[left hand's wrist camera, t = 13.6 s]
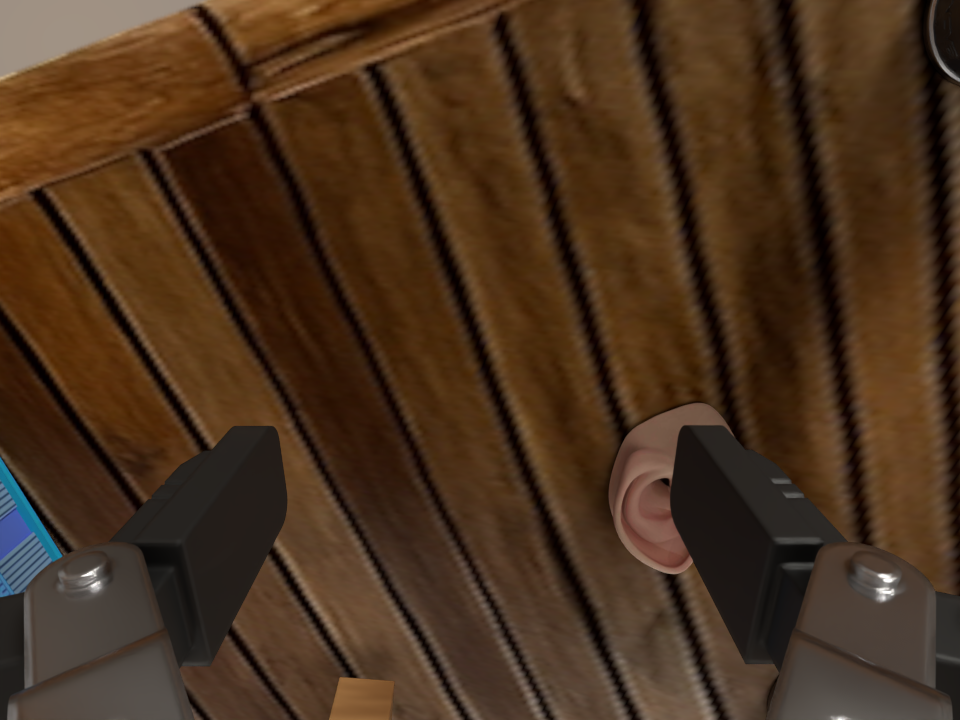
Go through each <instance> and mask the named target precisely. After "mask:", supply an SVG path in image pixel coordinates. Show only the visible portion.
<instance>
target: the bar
mask: <svg viewBox="0 0 960 720" xmlns="http://www.w3.org/2000/svg"><path fill="white" fill-rule="evenodd" d="M394 684H395V682H394V681H386V680H372V679H359V678H346V677H340V678H339V681H338V685H337V689H336V693H335V697H334V701H333V705H332V709H331V713H330V717H329V720H392V708H393V696H394Z"/></svg>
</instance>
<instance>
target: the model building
mask: <svg viewBox="0 0 960 720" xmlns="http://www.w3.org/2000/svg"><path fill="white" fill-rule="evenodd" d="M61 557H63V556H62V554H61V553H60V551H59V550H58V548H57V546H56V545H55V543H54V542H53V540H52V538H51V537H50V535H49V534H48V532H47V531H46V529H45V527H44V526H43V524H42V523H41V521H40V519H39V518H38V516H37V515H36V513H35V511H34V510H33V508H32V507H31V505H30V504H29V502H28V500H27V499H26V497H25V496H24V494H23V492H22V491H21V489H20V488H19V486H18V485H17V483H16V481H15V480H14V478H13V477H12V475H11V473H10V472H9V470H8V469H7V467H6V465H5V464H4V462H3V461H2V459H1V458H0V597H4V596H9V595H13V594H18V593H22V592H25V590H26V588H27V586H28V584H29V583H30V582H31V580H32V579H33V578H34V577H35V576H36V575H37V574H38V573H39V572H40V571H41V570H42V569H44V568H45V567H46V566H48V565H49V564H51V563H52V562H54V561H55V560H57V559H59V558H61Z"/></svg>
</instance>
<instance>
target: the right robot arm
mask: <svg viewBox="0 0 960 720" xmlns="http://www.w3.org/2000/svg"><path fill="white" fill-rule="evenodd" d="M776 683H777V681H776ZM776 683H775V684H774V686H773V688H772V690H771V692H770V695H769V698H768V703H767V711H768V710H769V707H770V703H771V700H772V697H773V693H774V690H775V687H776Z"/></svg>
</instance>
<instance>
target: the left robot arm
mask: <svg viewBox="0 0 960 720" xmlns="http://www.w3.org/2000/svg"><path fill="white" fill-rule="evenodd" d="M923 37H924V44H925V48H926V52H927V54H928V57H929V59H930V61H931V63H932V65H933V66H934V68H935V69H936V70H937V71H938V72H939V74H941V75H942V76H943V77H944V78H945V79H947V80H948V81H950V82H952V83H954V84H956V85H959V86H960V0H927V4H926V8H925V13H924V20H923ZM670 509H671V515H672V519H673V522H674V525H675V527H676V529H677V531H678V533H679V535H680V537H681V539H682V541H683V542H684V544H685V546H686V548H687V550H688V552H689V554H690V556H691V558H692V560H693V562H694V564H695V566H696V568H697V570H698V572H699V574H700V576H701V578H702V580H703V582H704V584H705V586H706V587H707V589H708V591H709V593H710V595H711V597H712V599H713V601H714V603H715V605H716V607H717V609H718V611H719V613H720V615H721V617H722V619H723V621H724V623H725V625H726V627H727V629H728V631H729V632H730V634H731V636H732V638H733V640H734V642H735V644H736V646H737V648H738V650H739V652H740V654H741V656H742V658H743V660H744V662H745V664H775V666H776V668H777V669H778V671H779V673H780V674H779V677H778V680H777V683H776V687H775V690H774V693H773V697H772V700H771V703H770V707H769V710H768V713H767V717H766V720H960V596H955V595H951V594H946V593H941V592H937V591H935V590H934V588H933V586H932V584H931V583H930V582H929V580H928V579H927V578H926V577H925V576H924V575H923V574H922V573H921V572H920V571H919V570H918V569H916V568H915V567H914V566H912V565H911V564H909V563H908V562H906V561H905V560H903V559H901V558H899V557H897V556H895V555H893V554H891V553H889V552H887V551H884V550H881V549H879V548H876V547H872V546H869V545H865V544H860V543H853V542H848V541H847V540H846V539H845V538H844V537H843V536H842V535H841V534H840V533H839V532H838V531H837V529H836V528H835V527H834V526H833V525H832V524H831V523H830V522H829V521H828V520H827V519H826V518H825V516H824V515H823V514H822V513H821V512H820V511H819V510H818V509H817V508H816V507H815V506H814V505H813V504H812V502H811V501H810V500H809V499H808V498H804V494H803V493H802V492H801V491H800V489H799V488H798V487H797V486H796V485H795V484H791V480H790V479H789V478H788V477H787V475H786V474H785V473H784V472H783V471H782V470H781V469H780V468H779V467H778V466H777V465H776V464H775V463H773V462H772V461H770V460H768V459H767V458H765V457H763V456H762V455H760V454H758V453H757V452H755V451H753V450H745V449H744V448H743V447H742V446H741V444H740V443H739V442H738V441H737V440H736V439H735V437H734V436H733V435H732V434H731V433H730V432H729V431H728V429H727V428H726V427H725V426H723V425H684V426H682V428H681V429H680V431H679V435H678V440H677V447H676V454H675V462H674V469H673V476H672V483H671V490H670ZM286 511H287V490H286V483H285V476H284V469H283V462H282V455H281V448H280V441H279V436H278V432H277V430H276V429H275V427H273V426H234V427H232V428H231V429H230V430H229V431H228V432H227V433H226V434H225V436H224V437H223V438H222V439H221V440H220V441H219V442H218V444H217V445H216V446H215V447H214V448H213V449H212V450H211V451H203V452H202V453H200V454H198V455H197V456H195V457H193V458H191V459H190V460H188V461H186V462H185V463H183V464H181V465H180V466H179V467H178V468H177V469H176V470H175V471H174V472H173V474H172V475H171V476H170V477H169V478H168V479H167V480H166V481H165V485H161V486H160V487H159V489H158V490H157V491H156V492H155V493H154V494H153V495H152V499H148V500H147V501H146V502H145V504H144V505H143V506H142V507H141V508H140V509H139V510H138V511H137V512H136V513H135V514H134V515H133V516H132V517H131V519H130V520H129V521H128V522H127V523H126V524H125V525H124V526H123V527H122V528H121V529H120V530H119V531H118V532H117V533H116V535H115V536H114V537H113V538H112V539H111V540H110V541H109V542H107V543H100V544H95V545H91V546H88V547H84V548H81V549H79V550H76V551H73V552H71V553H69V554H67V555H65V556H63V557H61V558H59V559H57V560H55V561H54V562H52V563H51V564H49V565H48V566H46V567H45V568H44V569H42V570H41V571H40V572H39V573H38V574H37V575H36V576H35V577H34V578H33V579H32V580H31V582H30V583H29V584H28V586H27V588H26V590H25V592H22V593H18V594H13V595H9V596H4V597H0V720H194V717H193V713H192V710H191V707H190V703H189V700H188V697H187V693H186V690H185V687H184V683H183V680H182V677H181V674H180V670H179V669H180V667H181V666H210V665H211V663H212V661H213V659H214V657H215V656H216V654H217V652H218V650H219V648H220V646H221V644H222V642H223V640H224V638H225V636H226V634H227V632H228V630H229V628H230V627H231V625H232V623H233V621H234V619H235V617H236V615H237V613H238V611H239V609H240V607H241V605H242V603H243V601H244V599H245V598H246V596H247V594H248V592H249V590H250V588H251V586H252V584H253V582H254V580H255V578H256V576H257V574H258V572H259V570H260V569H261V567H262V565H263V563H264V561H265V559H266V557H267V555H268V553H269V551H270V549H271V547H272V545H273V543H274V542H275V540H276V538H277V536H278V534H279V532H280V530H281V528H282V526H283V523H284V520H285V516H286Z"/></svg>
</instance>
